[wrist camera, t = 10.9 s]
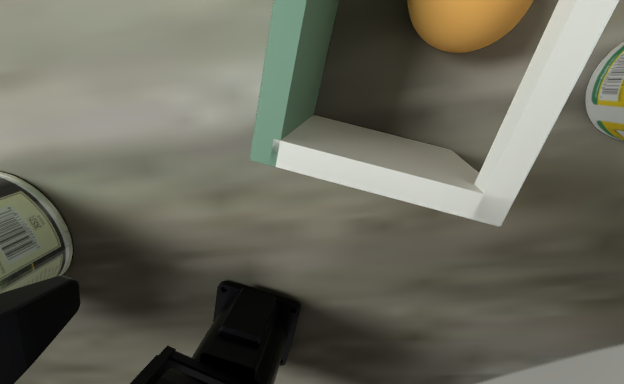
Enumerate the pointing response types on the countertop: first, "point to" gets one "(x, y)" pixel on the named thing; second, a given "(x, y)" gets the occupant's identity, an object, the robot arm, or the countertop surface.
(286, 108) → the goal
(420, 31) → the ball
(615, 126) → the supplement bottle
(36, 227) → the coffee can
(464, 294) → the countertop surface
